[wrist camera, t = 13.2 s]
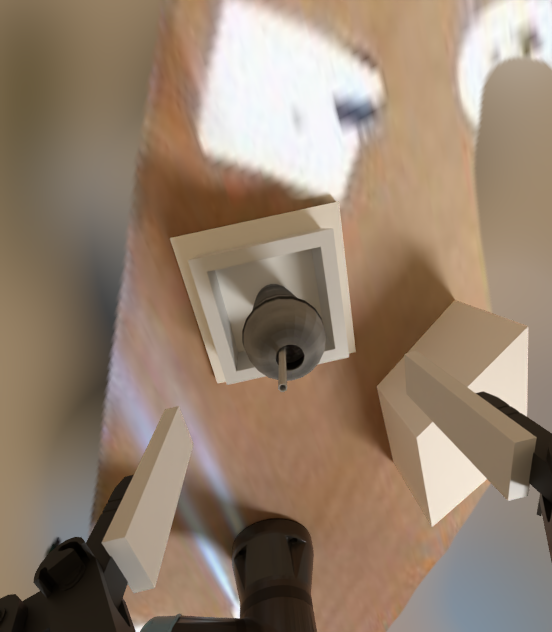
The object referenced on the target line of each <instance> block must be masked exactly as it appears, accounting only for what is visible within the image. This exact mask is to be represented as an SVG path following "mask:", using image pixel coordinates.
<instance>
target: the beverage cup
mask: <svg viewBox="0 0 552 632" xmlns="http://www.w3.org/2000/svg"><path fill="white" fill-rule="evenodd" d="M325 341H326V335H325V329H324V325H323V321H322V318H321V316H320V315H319V313H318V312H317V310H316V309H315V308H314V307H313V306H312V305H310V304H309V303H308V302H306V301H305V300H302V299H299V298H297V297H296V296H295V295H293V294H292V293H291V292H290V291H289V290H288V289H286V288H285V287H283V286H281V285H278V284H270V285H266V286H265V287H263V288H262V289H261V290H260V291H259V293H258V295H257V296H256V299H255V303H254V306H253V310H252V312H251V313H250V314H249V316H248V317H247V318H246V321H245V324H244V327H243V330H242V343H243V346H244V348H245V351H246V354H247V356H248V358H249V360H250V362H251V363H252V364H253V365H254V366H255V368H256V369H257V370H258V371H259V372H261V373H262V374H264V375H266V376H267V377H269V378H272V379H276V380H279V381H278V389H279V390H280V391H281V392H284V391H286V390H287V381H289V380H295V379H298V378H301V377H303V376H305V375H306V374H308V373H310V372H311V371H312V370H313V369H314V368H315V366H316V365H317V364H318V363H319V362H320V360H321V357H322V355H323V353H324V350H325Z"/></svg>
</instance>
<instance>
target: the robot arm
mask: <svg viewBox="0 0 552 632" xmlns="http://www.w3.org/2000/svg"><path fill="white" fill-rule="evenodd" d="M404 359H405V378H406V394H407V395H408V396H409V397H410V398H411V399H412V400H413V402H414V403H415V404H416V405H417V406H418V407H419V408H420V409H421V410H422V411H423V412H424V413H425V414H426V415H427V416H428V417H429V418H430V419H431V420H432V421H433V423H434V424H435V425H436V426H437V427H438V428H439V429H440V430H441V431H442V432H443V433H444V434H445V435H446V436H447V437H448V438H449V439H450V440H451V441H452V442H453V444H454V445H455V446H456V447H457V448H458V449H459V450H460V451H461V452H462V453H463V454H464V455H465V456H466V457H467V458H468V459H469V460H470V461H471V462H472V464H473V465H474V466H475V467H476V468H477V469H478V470H479V471H480V472H481V473H482V474H483V475H484V476H485V477H486V478H487V479H488V480H489V481H490V482H491V483H492V485H494V487H495V488H496V489H497V490H498V491H499V492H500V493H501V494H502V495H503V496H504V497H505V498H506V499H507V500H508V501H509V500H513V499H517V498H521V497H525V496H528V492H529V485H530V484H531V485H532V486H533V487H534V488H535V489H537V491H538V492H540V497H539V503H538V509H537V515H539V516H541V514H542V516H543V521H544V526H545V531H546V535H547V541H548V546H549V551H550V556H551V561H552V433H550V432H549V431H547V430H546V429H544V428H543V427H541V426H540V425H538V424H537V423H535V422H534V421H532V420H531V419H529V418H528V417H526V416H525V415H523V414H522V413H519V411H518V410H516V409H515V408H513V407H512V406H511V407H510V406H509V404H507V403H506V402H504V401H503V400H501V399H500V398H498V397H496V396H494V395H491V394H489V393H486V392H484V391H483V392H479V393H475V392H473V391H472V390H470V389H469V388H468V387H466V386H465V385H463V384H462V383H461V382H459V381H458V380H457V379H455V378H454V377H452V376H451V375H450V374H448V373H447V372H446V371H444V370H443V369H441V368H440V367H439V366H437V365H436V364H434V363H433V362H432V361H430V360H429V359H428V358H426V357H425V356H423V355H422V354H421V353H419V352H418V351H415V352H411V353H406V354H404ZM192 448H193V442H192V439H191V436H190V434H189V431H188V429H187V426H186V424H185V421H184V419H183V416H182V414H181V411H180V409H179V406H178V407H173V408H169V409H165V411H164V413H163V415H162V417H161V419H160V421H159V423H158V425H157V428H156V430H155V432H154V434H153V436H152V438H151V440H150V442H149V444H148V446H147V449H146V451H145V453H144V455H143V457H142V459H141V461H140V463H139V465H138V467H137V469H136V472H135V474H134V475H131V476H127V477H124V479H123V480H122V481H121V482H120V483H119V484H118V485H117V487H116V488H115V489H114V491H113V493H112V495H111V497H110V498H109V500H108V504H106V506H105V508H104V510H103V514H101V516H100V517H99V519H98V521H97V523H96V525H95V527H94V529H93V531H92V533H91V535H90V536H89V538H88V540H87V542H86V543H85V541H84V540H83V539H82V538H81V537H74V538H71V539H68V540H66V541H65V542H63V543H61V544H60V545H58V546H57V547H56V548H55V549H54V550H53V551H51V552H50V553H49V554H48V555H47V557H46V558H45V559H44V560H43V562H42V563H41V564H40V566H39V568H38V569H37V571H36V573H35V577H34V583H35V585H36V586H37V587H38V588H39V589H40V592H38V593H36V594H35V595H33V596H31V597H29V598H27V599H25V600H24V601H21V600H20V599H19V597H18V596H16V594H14V595H7V596H5V597H3V598H1V599H0V632H135V629H134V626H133V623H132V620H131V617H130V614H129V611H128V608H127V605H126V602H125V601H124V599H123V595H124V592H125V589H126V586H127V584H128V585H129V587H130V588H131V590H132V591H133V593H137V592H141V591H145V590H149V589H153V588H155V586H156V582H157V579H158V575H159V571H160V567H161V564H162V560H163V556H164V552H165V549H166V545H167V541H168V538H169V534H170V530H171V526H172V523H173V519H174V515H175V511H176V508H177V504H178V500H179V496H180V493H181V489H182V485H183V481H184V478H185V474H186V470H187V466H188V463H189V459H190V455H191V452H192ZM313 557H314V554H313V546H312V541H311V536H310V534H309V532H308V531H307V530H306V529H305V528H304V527H303V526H302V525H300V524H298V523H296V522H293V521H290V520H284V519H272V520H265V521H261V522H258V523H255V524H253V525H251V526H249V527H248V528H246V529H245V530H243V531H242V532H241V533H240V534H239V535H238V536H237V538H236V540H235V541H234V544H233V552H232V566H233V571H234V576H235V581H236V585H237V590H238V595H239V599H240V619H237V618H214V617H195V616H182V615H181V614H178V615H176V616H159V617H154V618H152V619H150V620H149V621H148V622H147V623H146V624H145V625H144V626H143V628H142V629H141V631H140V632H317V629H316V623H315V617H314V611H313V605H312V599H311V584H312V570H313Z"/></svg>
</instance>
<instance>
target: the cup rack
mask: <svg viewBox="0 0 552 632" xmlns="http://www.w3.org/2000/svg"><path fill="white" fill-rule="evenodd" d="M170 241H171V244H172V247H173V250H174V253H175V256H176V259H177V262H178V265H179V268H180V271H181V274H182V277H183V280H184V283H185V286H186V289H187V292H188V295H189V298H190V301H191V304H192V307H193V310H194V314H195V317H196V320H197V323H198V326H199V329H200V332H201V335H202V338H203V341H204V344H205V347H206V350H207V353H208V356H209V359H210V362H211V365H212V368H213V371H214V374H215V377H216V380H217V383H222V382H226V383H227V385H229V384H233V383H238V382H242V381H247V380H251V379H255V378H260V377H264V376H266V375H264V374H262V373H261V372H259V371H258V370H257V369H256V368H255V366H254V365H253V364H252V363H251V362H250V360H249V358H248V356H247V354H246V351H245V348H244V346H243V343H242V330H243V327H244V324H245V321H246V318H247V317H248V316H249V314H250V313H251V312H252V310H253V306H254V303H255V299H256V296H257V295H258V293H259V291H260V290H261V289H262V288H263V287H265V286H266V285H270V284H278V285H281V286H283V287H285V288H286V289H288V290H289V291H290V292H291V293H292V294H293V295H295V296H296V297H297V298H299V299H302V300H305V301H306V302H308V303H309V304H310V305H312V306H313V307H314V308H315V309H316V310H317V312H318V313H319V315H320V316H321V318H322V321H323V325H324V329H325V335H326V341H325V350H324V353H323V355H322V357H321V360H320V362H319V363H318V364H321V363H326V362H330V361H335V360H339V359H343V358H348V357H349V353H354V352H356V349H355V340H354V331H353V323H352V314H351V305H350V296H349V287H348V278H347V270H346V261H345V252H344V243H343V234H342V225H341V217H340V208H339V201H338V202H334V203H329V204H324V205H320V206H315V207H311V208H306V209H301V210H297V211H292V212H288V213H283V214H278V215H274V216H269V217H265V218H260V219H255V220H251V221H246V222H242V223H237V224H232V225H228V226H223V227H219V228H214V229H209V230H205V231H200V232H196V233H191V234H186V235H182V236H177V237H173V238H170Z"/></svg>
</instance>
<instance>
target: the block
mask: <svg viewBox="0 0 552 632" xmlns="http://www.w3.org/2000/svg"><path fill="white" fill-rule="evenodd" d="M415 351H418V352H419V353H421V354H422V355H423V356H425V357H426V358H428V359H429V360H430V361H432V362H433V363H434V364H436V365H437V366H439V367H440V368H441V369H443V370H444V371H446V372H447V373H448V374H450V375H451V376H452V377H454V378H455V379H457V380H458V381H459V382H461V383H462V384H463V385H465V386H466V387H468V388H469V389H470V390H472V391H473V392H475V393H479V392H483V391H484V392H486V393H489V394H491V395H494V396H496V397H498V398H500V399H501V400H503V401H504V402H506V403H507V404H509V406H510V407H511V406H512V407H513V408H515V409H516V410H518V411H519V413H522V414H523V415H525V416H526V417H527V378H528V375H527V374H528V326H526V325H523V324H520V323H518V322H515V321H512V320H509V319H507V318H504V317H501V316H498V315H496V314H493V313H490V312H487V311H485V310H482V309H479V308H476V307H473V306H471V305H468V304H465V303H462V302H460V301H457V300H454V301H453V302H452V303H451V304H450V306H449V307H448V308H447V309H446V310H445V311H444V312H443V313H442V314H441V316H440V317H439V318H438V319H437V320H436V321H435V322H434V323H433V324H432V326H431V327H430V328H429V329H428V330H427V331H426V332H425V333H424V334H423V336H422V337H421V338H420V339H419V340H418V341H417V342H416V343H415V344H414V346H413V347H412V348H411V349H410V350H409V351H408V352H407V353H411V352H415ZM377 391H378V395H379V400H380V404H381V409H382V413H383V418H384V422H385V427H386V431H387V436H388V440H389V445H390V449H391V454H392V458H393V463H394V465H395V466H396V468H397V470H398V471H399V473H400V475H401V476H402V478H403V480H404V481H405V483H406V485H407V486H408V488H409V490H410V491H411V493H412V495H413V496H414V498H415V500H416V501H417V503H418V505H419V506H420V508H421V510H422V511H423V513H424V515H425V516H426V518H427V520H428V521H429V523H430V525H431V526H432V527H433V526H434V525H435V524H436V523H437V522H438V521H440V520H441V519H442V518H443V517H444V516H445V515H446V514H448V513H449V512H450V511H451V510H452V509H453V508H454V507H456V506H457V505H458V504H459V503H460V502H461V501H462V500H464V499H465V498H466V497H467V496H468V495H469V494H470V493H472V492H473V491H474V490H475V489H476V488H477V487H478V486H480V485H481V484H482V483H483V482H484V481H485V480H486V479H487V478H486V477H485V476H484V475H483V474H482V473H481V472H480V471H479V470H478V469H477V468H476V467H475V466H474V465H473V464H472V462H471V461H470V460H469V459H468V458H467V457H466V456H465V455H464V454H463V453H462V452H461V451H460V450H459V449H458V448H457V447H456V446H455V445H454V444H453V442H452V441H451V440H450V439H449V438H448V437H447V436H446V435H445V434H444V433H443V432H442V431H441V430H440V429H439V428H438V427H437V426H436V425H435V424H434V423H433V421H432V420H431V419H430V418H429V417H428V416H427V415H426V414H425V413H424V412H423V411H422V410H421V409H420V408H419V407H418V406H417V405H416V404H415V403H414V402H413V400H412V399H411V398H410V397H409V396H408V395H407V394H406V378H405V359H404V357H403V358H402V359H401V360H400V361H399V362H398V363H397V364H396V366H395V367H394V368H393V369H392V370H391V371H390V372H389V373H388V374H387V376H386V377H385V378H384V379H383V380H382V381H381V382H380V383H379V384H378V386H377Z"/></svg>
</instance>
